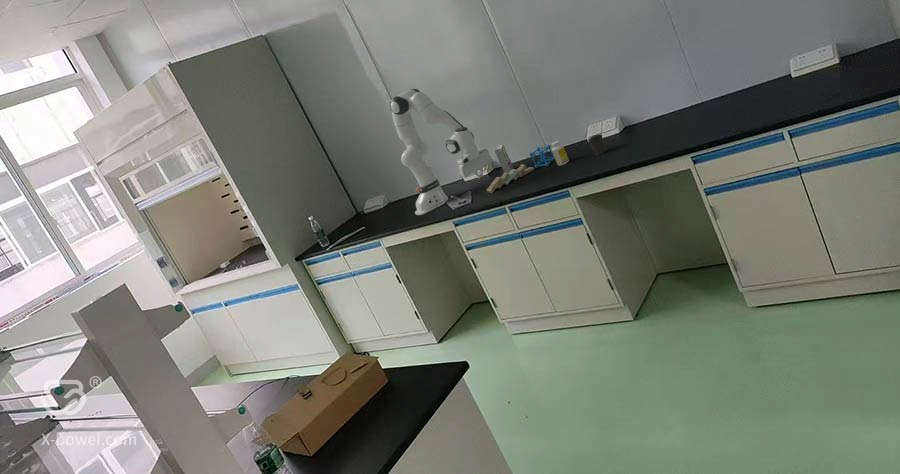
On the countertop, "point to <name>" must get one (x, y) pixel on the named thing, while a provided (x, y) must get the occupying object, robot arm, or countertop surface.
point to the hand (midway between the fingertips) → (481, 177)
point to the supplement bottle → (559, 153)
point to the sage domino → (511, 175)
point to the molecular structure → (542, 156)
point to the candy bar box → (503, 158)
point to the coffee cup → (597, 144)
